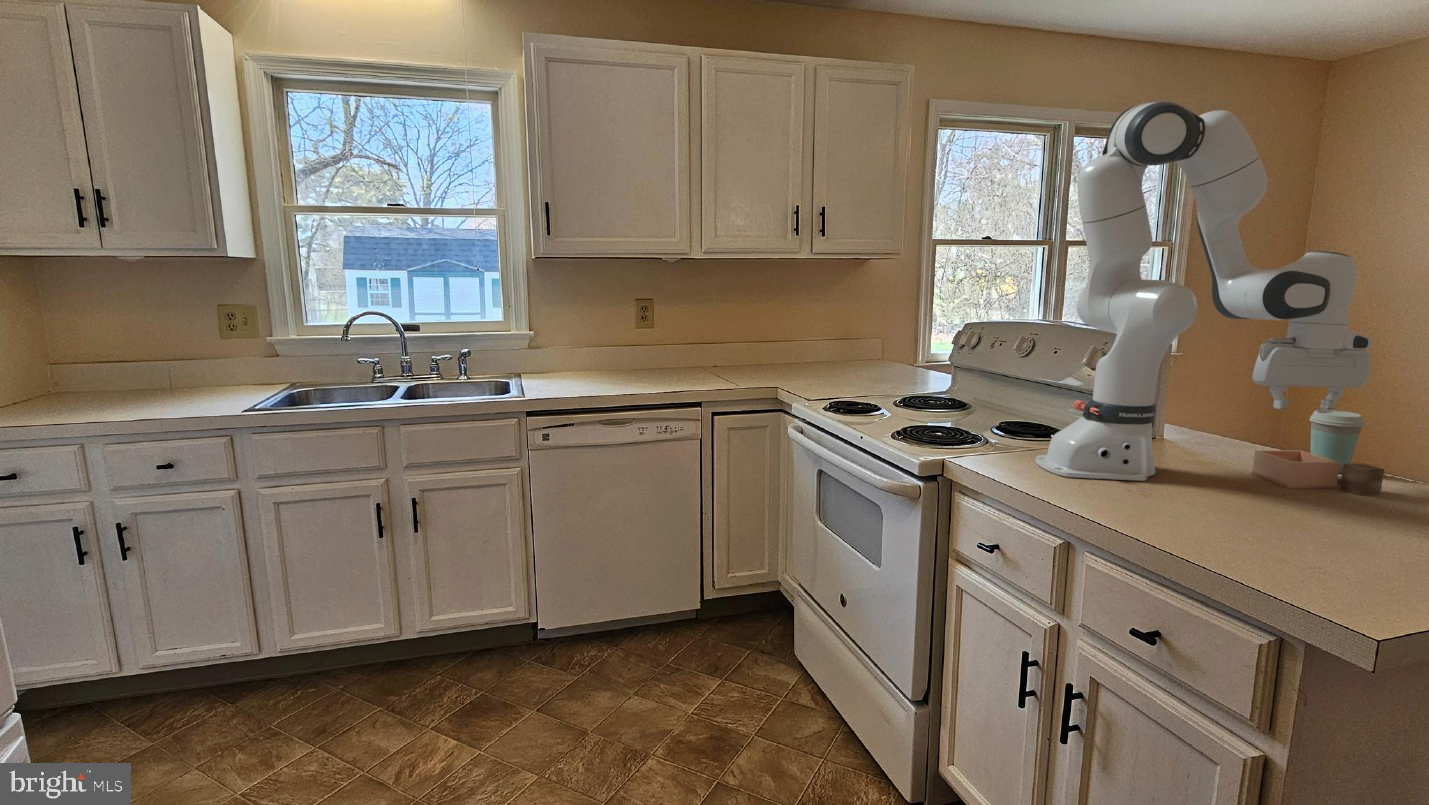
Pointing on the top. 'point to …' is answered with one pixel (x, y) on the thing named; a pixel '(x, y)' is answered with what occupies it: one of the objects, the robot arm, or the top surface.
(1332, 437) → the coffee cup
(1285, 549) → the top surface
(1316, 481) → the pink open square tray
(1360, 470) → the walnut block
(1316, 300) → the robot arm
